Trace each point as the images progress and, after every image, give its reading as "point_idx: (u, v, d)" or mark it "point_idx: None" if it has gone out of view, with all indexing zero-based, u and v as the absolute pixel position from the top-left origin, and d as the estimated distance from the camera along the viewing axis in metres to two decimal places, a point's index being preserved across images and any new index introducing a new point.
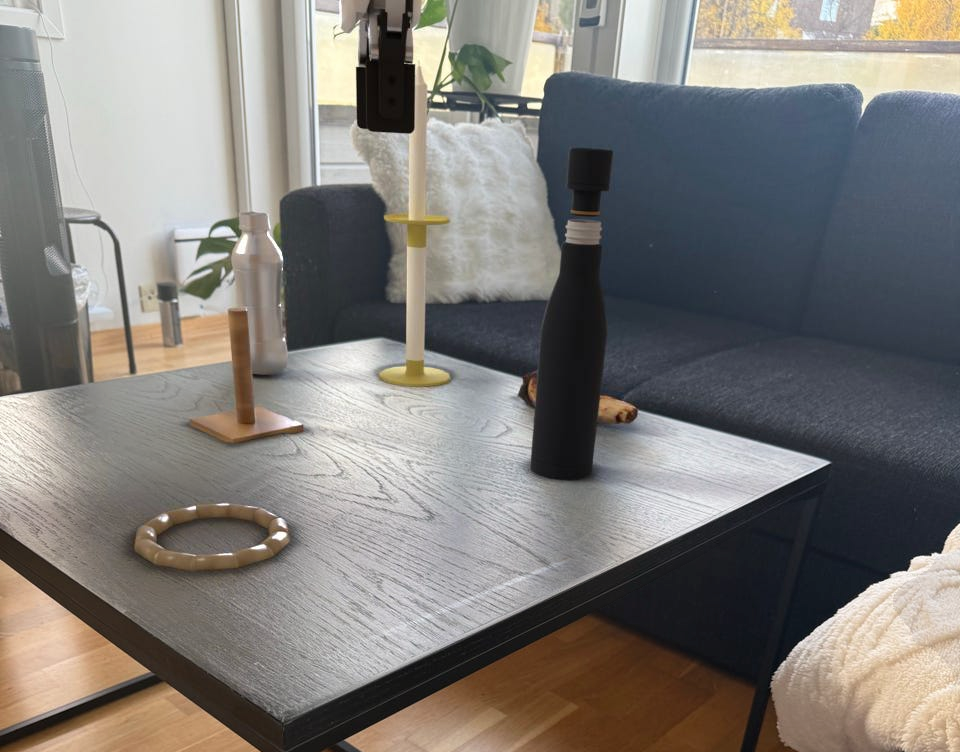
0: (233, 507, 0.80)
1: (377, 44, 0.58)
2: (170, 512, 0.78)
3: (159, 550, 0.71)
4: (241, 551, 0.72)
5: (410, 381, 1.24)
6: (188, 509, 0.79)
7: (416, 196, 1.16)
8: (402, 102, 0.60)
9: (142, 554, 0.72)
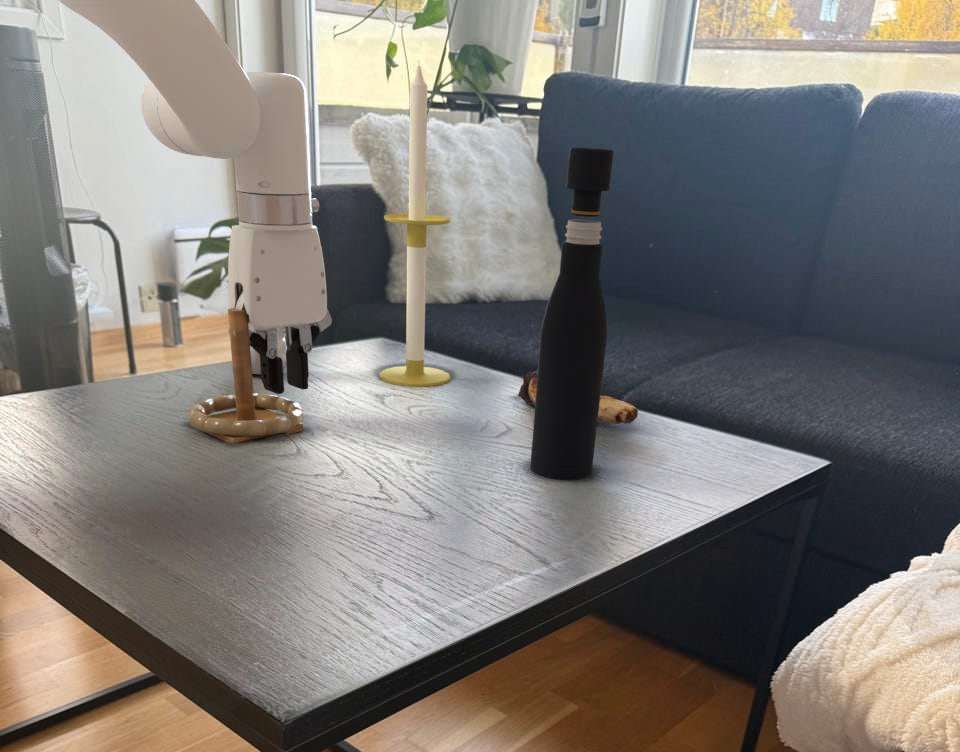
0: (261, 396, 1.06)
1: None
2: (214, 397, 1.04)
3: (208, 418, 0.98)
4: (268, 419, 0.98)
5: (410, 381, 1.24)
6: (227, 396, 1.05)
7: (416, 196, 1.16)
8: (268, 377, 1.02)
9: (196, 421, 0.99)
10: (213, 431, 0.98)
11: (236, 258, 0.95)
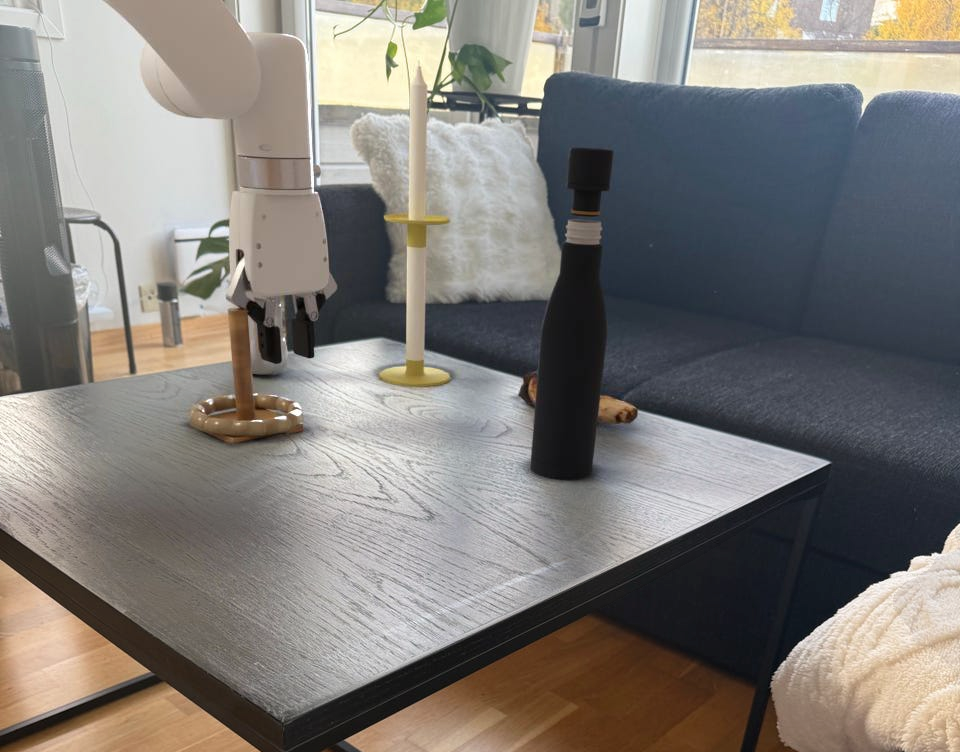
0: (261, 396, 1.06)
1: None
2: (214, 397, 1.04)
3: (208, 418, 0.98)
4: (268, 419, 0.98)
5: (410, 381, 1.24)
6: (227, 396, 1.05)
7: (416, 196, 1.16)
8: (266, 347, 1.00)
9: (196, 421, 0.99)
10: (213, 431, 0.98)
11: (237, 224, 0.93)
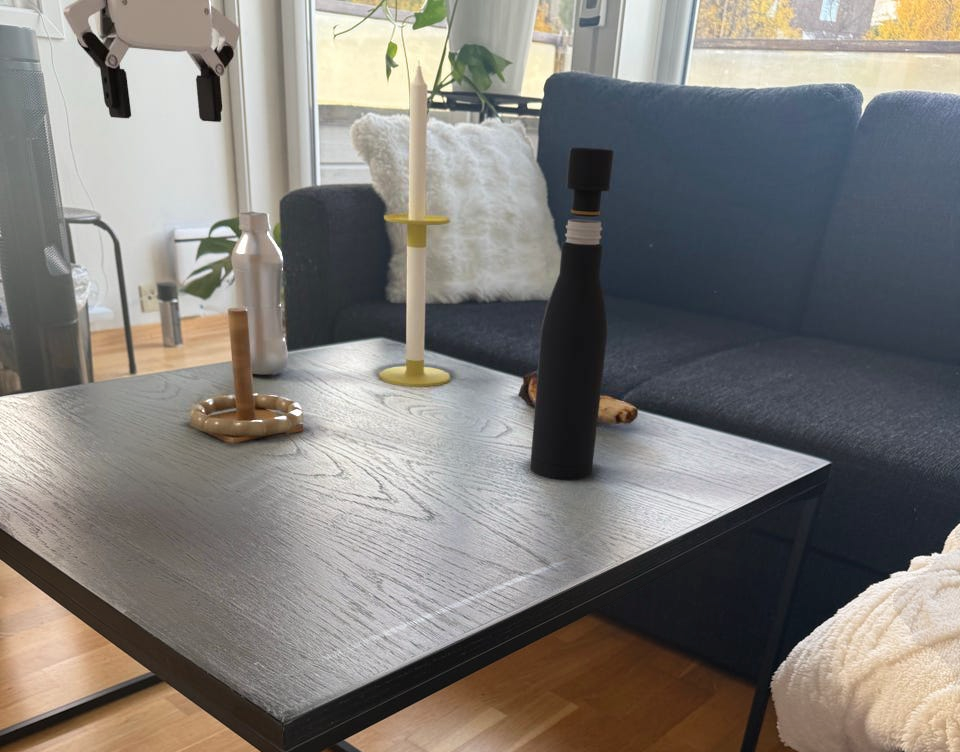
0: (261, 396, 1.06)
1: None
2: (214, 397, 1.04)
3: (208, 418, 0.98)
4: (268, 419, 0.98)
5: (410, 381, 1.24)
6: (227, 396, 1.05)
7: (416, 196, 1.16)
8: (110, 95, 0.86)
9: (196, 421, 0.99)
10: (213, 431, 0.98)
11: None
